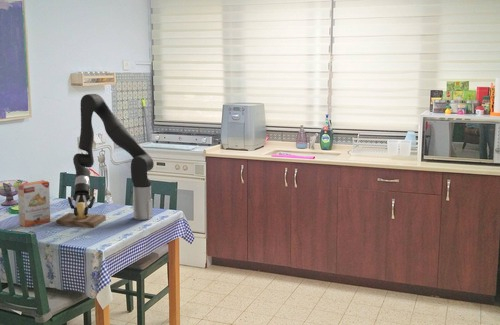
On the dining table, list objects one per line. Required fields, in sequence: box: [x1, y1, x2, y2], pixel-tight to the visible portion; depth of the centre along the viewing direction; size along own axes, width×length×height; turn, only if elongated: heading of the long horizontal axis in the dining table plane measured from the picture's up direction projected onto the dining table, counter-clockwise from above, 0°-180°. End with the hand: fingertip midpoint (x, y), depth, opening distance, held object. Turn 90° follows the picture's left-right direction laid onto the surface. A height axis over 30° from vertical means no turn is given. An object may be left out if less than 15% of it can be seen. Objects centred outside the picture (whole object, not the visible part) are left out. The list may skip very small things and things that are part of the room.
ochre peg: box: [77, 202, 85, 219], centre depth 279 cm, size 4×4×10 cm
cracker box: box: [17, 179, 51, 228], centre depth 274 cm, size 14×6×21 cm, turn 143°
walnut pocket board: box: [55, 212, 107, 228], centre depth 279 cm, size 20×14×2 cm
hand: (80, 214), depth 277 cm, fingers closed on ochre peg, 4 cm apart
